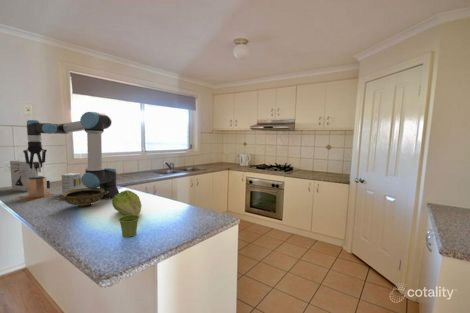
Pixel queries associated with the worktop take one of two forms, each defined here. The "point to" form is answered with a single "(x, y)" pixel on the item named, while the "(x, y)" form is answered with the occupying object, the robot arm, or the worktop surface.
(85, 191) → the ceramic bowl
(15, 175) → the cereal box
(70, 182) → the supplement box
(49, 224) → the worktop surface
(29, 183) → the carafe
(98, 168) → the robot arm
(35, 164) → the plunger
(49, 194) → the trivet
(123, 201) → the lettuce
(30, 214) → the worktop surface
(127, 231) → the plant pot
